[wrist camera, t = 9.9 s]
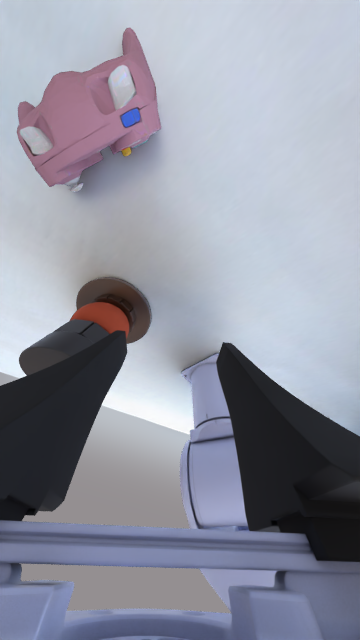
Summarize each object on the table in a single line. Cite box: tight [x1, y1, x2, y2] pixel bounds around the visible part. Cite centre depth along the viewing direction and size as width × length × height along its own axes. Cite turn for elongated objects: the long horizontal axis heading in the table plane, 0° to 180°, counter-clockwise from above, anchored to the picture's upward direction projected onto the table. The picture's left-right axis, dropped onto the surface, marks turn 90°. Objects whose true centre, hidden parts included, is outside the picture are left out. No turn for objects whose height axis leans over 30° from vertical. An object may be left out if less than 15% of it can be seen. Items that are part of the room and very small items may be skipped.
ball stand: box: [76, 277, 151, 344], centre depth 18 cm, size 10×10×2 cm
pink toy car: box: [17, 28, 161, 192], centre depth 9 cm, size 10×5×7 cm, turn 108°
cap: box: [19, 319, 109, 376], centre depth 12 cm, size 5×5×4 cm
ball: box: [70, 302, 129, 338], centre depth 16 cm, size 6×6×6 cm
